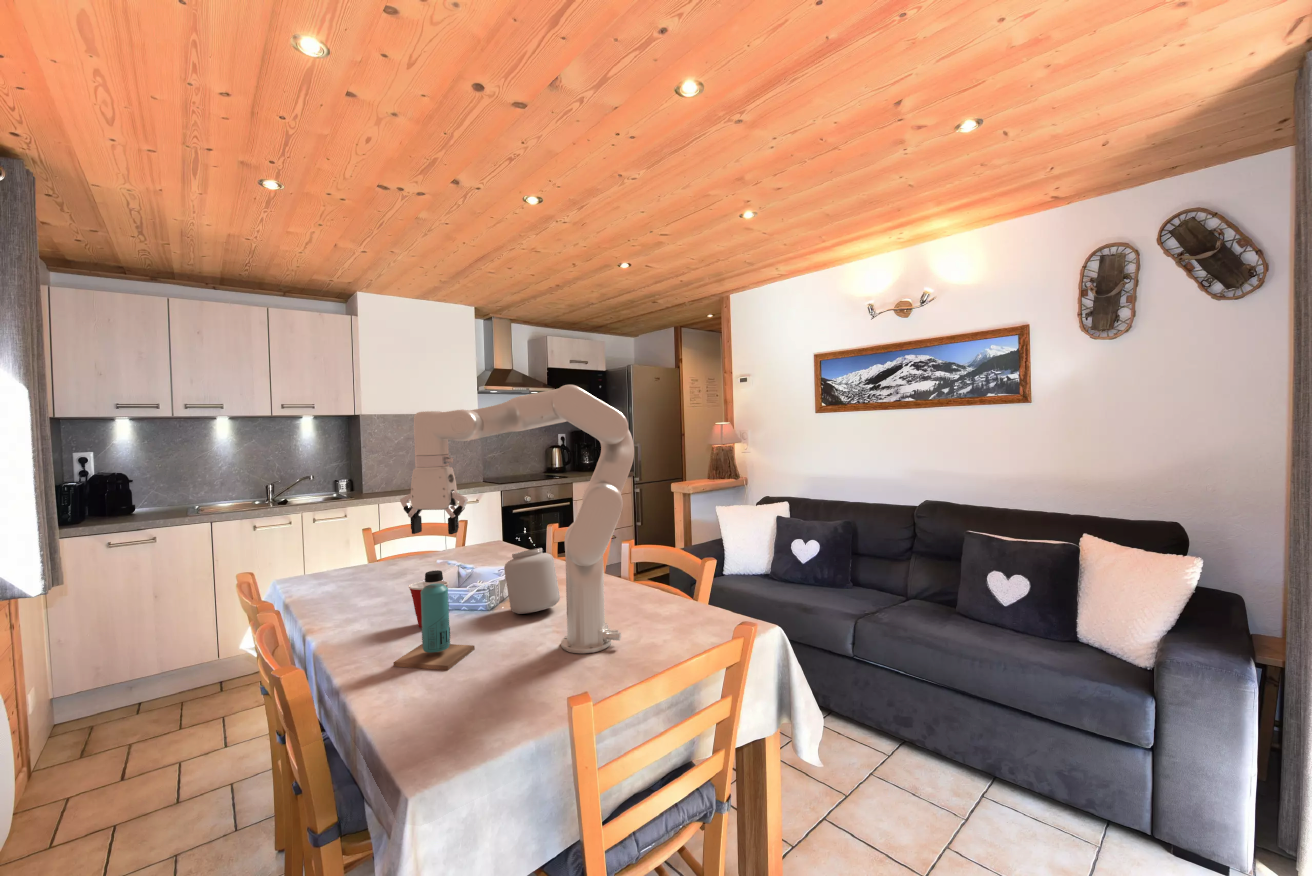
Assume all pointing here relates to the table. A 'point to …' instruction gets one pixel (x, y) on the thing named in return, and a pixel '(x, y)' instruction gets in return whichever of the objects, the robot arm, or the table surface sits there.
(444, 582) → the plastic cup
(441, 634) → the beverage bottle
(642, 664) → the table surface
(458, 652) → the walnut board
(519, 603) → the jar
